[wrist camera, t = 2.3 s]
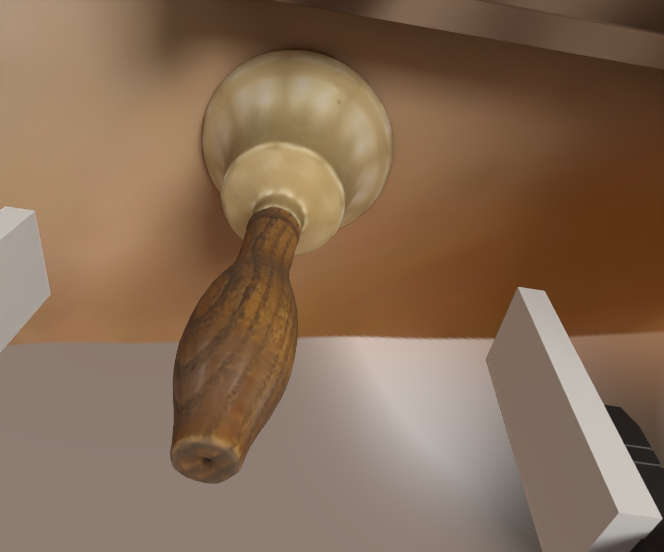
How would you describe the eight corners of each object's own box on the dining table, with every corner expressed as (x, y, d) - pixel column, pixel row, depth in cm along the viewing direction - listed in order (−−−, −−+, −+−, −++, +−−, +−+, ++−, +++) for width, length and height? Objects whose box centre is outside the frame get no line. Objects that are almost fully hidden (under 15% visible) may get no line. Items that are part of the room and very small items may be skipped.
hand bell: (193, 209, 24) (0, 547, 11) (215, 22, 20) (-66, 216, 6) (361, 251, 25) (369, 607, 12) (420, 81, 21) (540, 356, 7)
